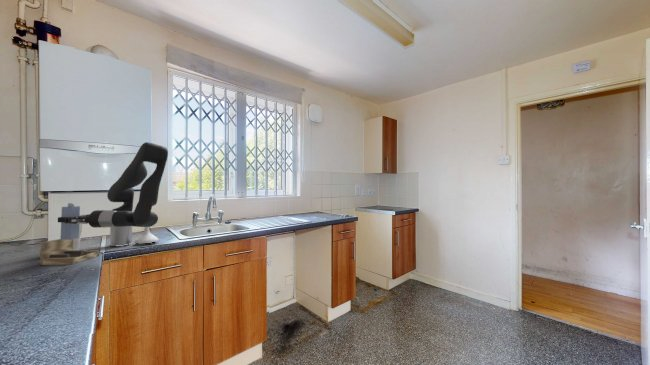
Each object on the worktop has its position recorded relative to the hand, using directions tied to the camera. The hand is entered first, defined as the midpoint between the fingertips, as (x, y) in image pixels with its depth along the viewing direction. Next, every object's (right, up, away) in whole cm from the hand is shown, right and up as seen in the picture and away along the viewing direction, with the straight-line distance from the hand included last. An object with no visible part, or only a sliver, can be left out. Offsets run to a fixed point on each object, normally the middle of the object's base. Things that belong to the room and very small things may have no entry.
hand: (63, 219), depth 110 cm
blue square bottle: (+3, -9, 0) cm, 9 cm away
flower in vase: (+12, -20, +35) cm, 42 cm away
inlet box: (+4, -18, 0) cm, 18 cm away
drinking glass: (-10, -19, +13) cm, 25 cm away
